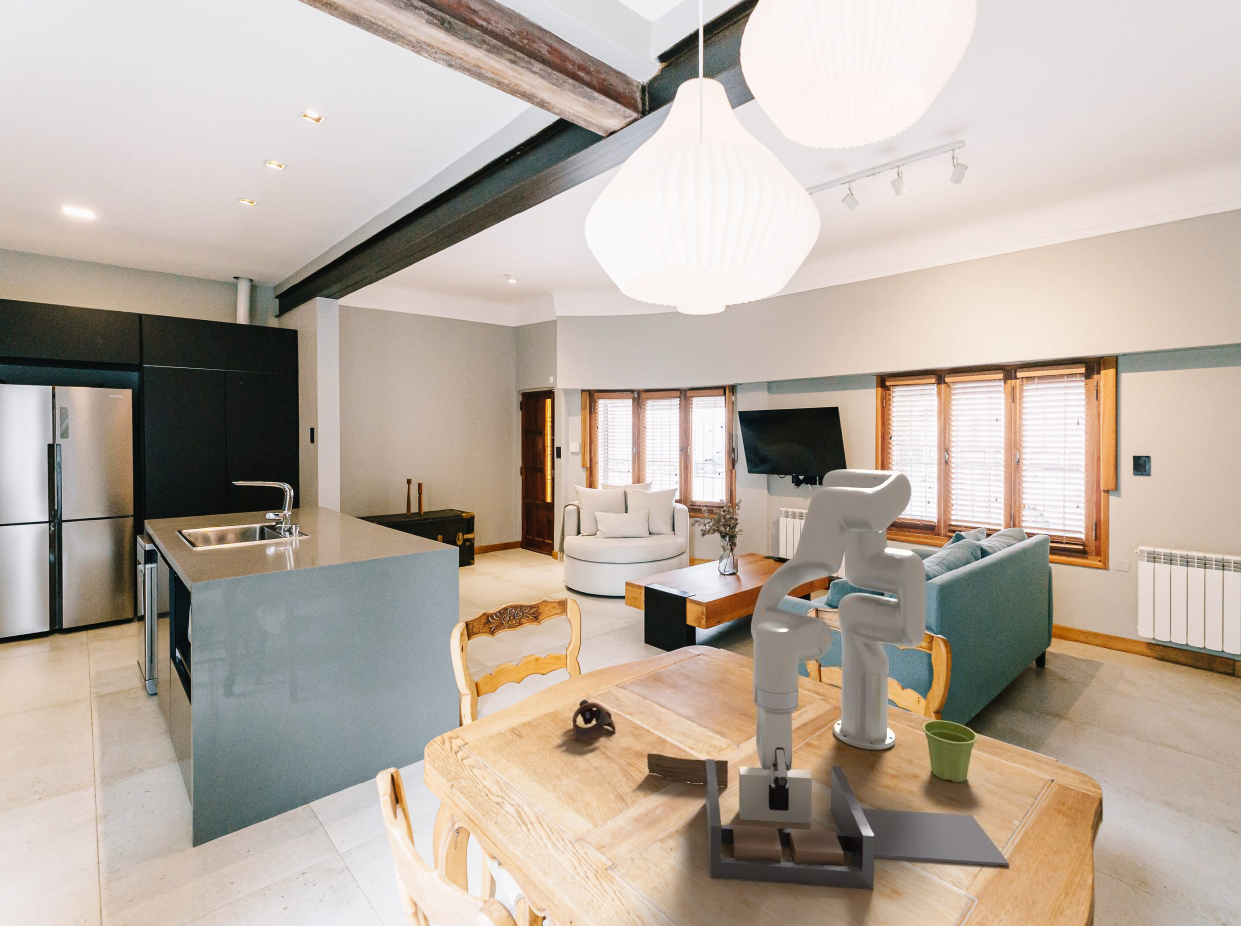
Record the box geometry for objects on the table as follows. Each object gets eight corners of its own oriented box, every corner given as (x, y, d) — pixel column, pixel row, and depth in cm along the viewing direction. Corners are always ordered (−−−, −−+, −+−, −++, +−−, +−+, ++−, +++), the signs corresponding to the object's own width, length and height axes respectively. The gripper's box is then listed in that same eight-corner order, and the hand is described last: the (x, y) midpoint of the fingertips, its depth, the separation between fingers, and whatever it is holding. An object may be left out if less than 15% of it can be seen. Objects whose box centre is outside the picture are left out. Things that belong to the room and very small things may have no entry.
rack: (705, 802, 110) (705, 759, 109) (839, 810, 107) (840, 765, 107) (710, 877, 91) (710, 825, 90) (873, 889, 88) (874, 836, 88)
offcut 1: (732, 849, 97) (732, 824, 97) (777, 852, 97) (777, 828, 96) (734, 871, 92) (734, 845, 92) (781, 875, 92) (781, 849, 91)
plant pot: (911, 766, 121) (911, 724, 121) (946, 758, 125) (946, 716, 124) (951, 792, 113) (952, 746, 112) (987, 782, 116) (988, 737, 116)
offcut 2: (789, 853, 96) (789, 829, 96) (834, 856, 96) (834, 831, 96) (795, 876, 91) (795, 850, 91) (843, 879, 91) (843, 853, 91)
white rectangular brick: (738, 810, 107) (739, 766, 107) (808, 814, 106) (808, 770, 106) (740, 819, 105) (740, 774, 104) (811, 823, 104) (811, 778, 103)
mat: (852, 810, 107) (852, 808, 107) (971, 817, 105) (971, 815, 105) (874, 857, 95) (874, 854, 95) (1008, 866, 93) (1008, 863, 93)
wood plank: (728, 783, 116) (728, 758, 116) (727, 789, 114) (727, 763, 113) (648, 773, 119) (648, 748, 119) (646, 779, 117) (647, 754, 117)
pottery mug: (626, 739, 134) (615, 715, 130) (590, 766, 130) (578, 742, 127) (601, 706, 143) (590, 682, 140) (567, 730, 140) (555, 706, 137)
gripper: (748, 675, 114) (747, 766, 114) (759, 717, 96) (758, 824, 97) (788, 676, 113) (787, 768, 114) (808, 719, 96) (807, 827, 96)
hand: (774, 793), depth 105 cm, fingers open, 8 cm apart
